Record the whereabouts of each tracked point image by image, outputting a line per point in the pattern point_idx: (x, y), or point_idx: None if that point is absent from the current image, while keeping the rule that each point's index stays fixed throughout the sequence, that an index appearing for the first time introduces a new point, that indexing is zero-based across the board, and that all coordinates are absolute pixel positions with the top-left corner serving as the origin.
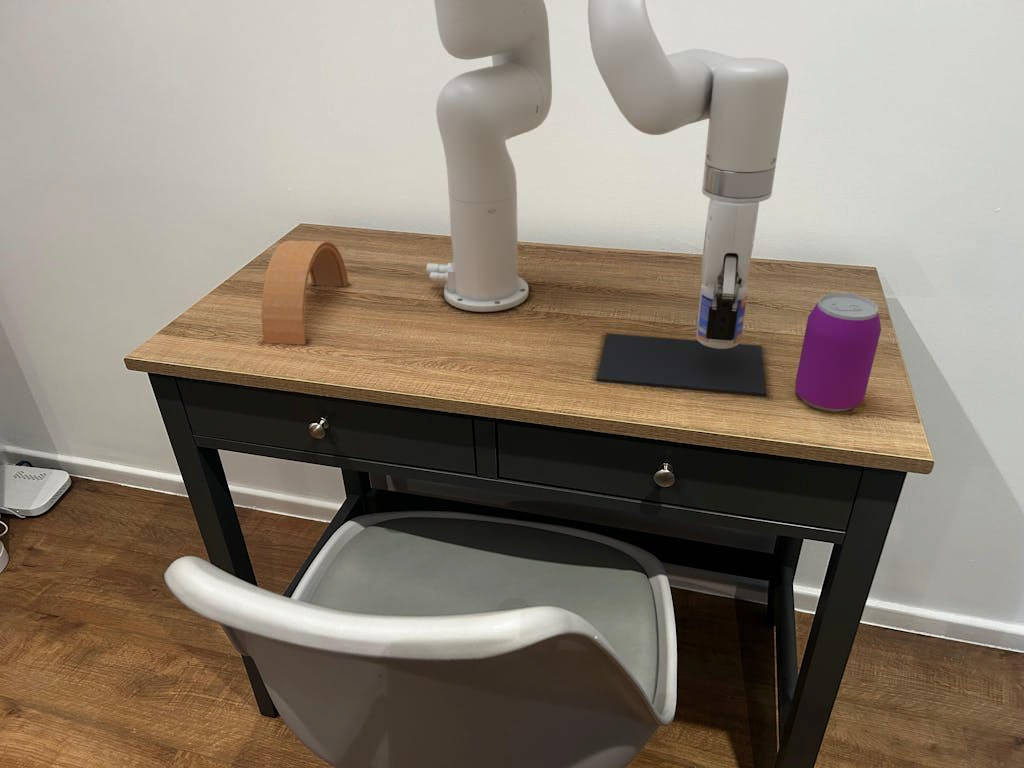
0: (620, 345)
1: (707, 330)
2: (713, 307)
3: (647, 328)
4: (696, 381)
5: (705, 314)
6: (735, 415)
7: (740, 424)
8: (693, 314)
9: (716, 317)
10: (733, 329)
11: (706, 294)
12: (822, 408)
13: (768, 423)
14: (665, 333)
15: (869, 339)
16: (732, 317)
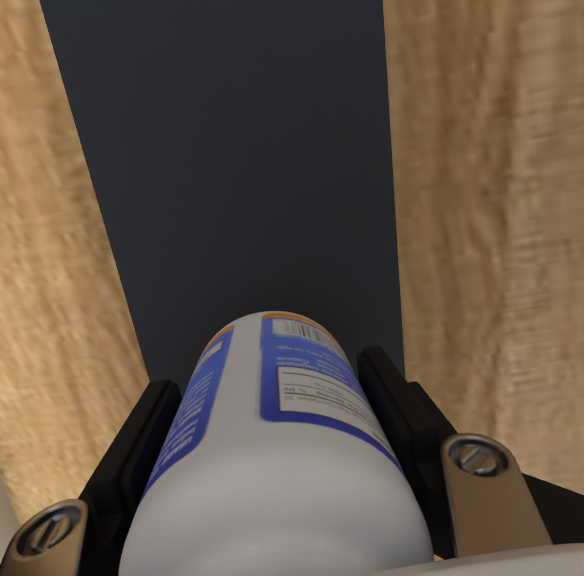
0: (298, 25)
1: (139, 400)
2: (21, 538)
3: (463, 99)
4: (160, 308)
5: (183, 408)
6: (60, 411)
7: (27, 426)
8: (580, 228)
9: (83, 493)
10: None
11: (149, 495)
12: None
13: (63, 474)
14: (439, 166)
15: None
16: None
